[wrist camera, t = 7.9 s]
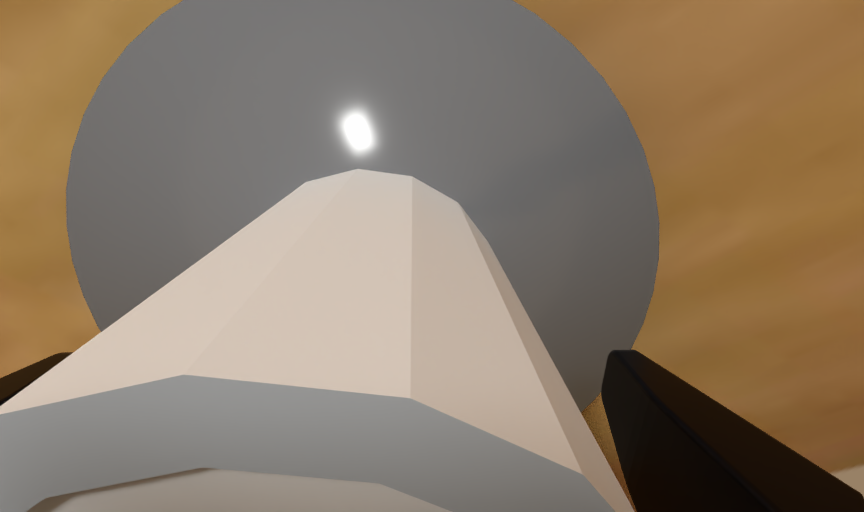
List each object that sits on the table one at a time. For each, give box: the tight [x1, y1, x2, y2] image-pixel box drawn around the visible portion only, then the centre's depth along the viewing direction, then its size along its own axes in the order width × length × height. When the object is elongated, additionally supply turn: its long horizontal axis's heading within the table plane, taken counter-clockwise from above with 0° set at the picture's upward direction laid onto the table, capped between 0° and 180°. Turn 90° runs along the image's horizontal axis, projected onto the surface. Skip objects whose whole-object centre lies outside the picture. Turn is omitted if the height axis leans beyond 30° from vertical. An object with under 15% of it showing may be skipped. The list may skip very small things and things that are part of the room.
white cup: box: [0, 169, 634, 512], centre depth 7 cm, size 7×7×7 cm
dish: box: [66, 0, 659, 412], centre depth 11 cm, size 13×13×1 cm
